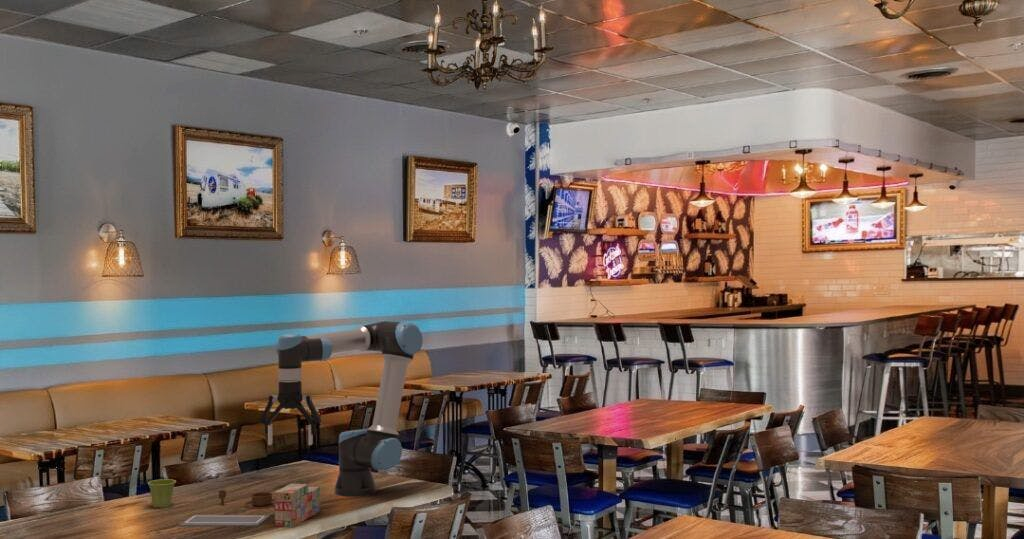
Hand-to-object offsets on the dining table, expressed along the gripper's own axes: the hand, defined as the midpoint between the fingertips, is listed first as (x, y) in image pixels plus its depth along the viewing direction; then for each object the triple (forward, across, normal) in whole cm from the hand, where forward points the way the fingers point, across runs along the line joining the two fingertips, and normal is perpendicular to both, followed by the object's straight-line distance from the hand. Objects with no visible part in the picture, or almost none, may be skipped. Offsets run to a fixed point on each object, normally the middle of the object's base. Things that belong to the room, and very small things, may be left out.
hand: (290, 444), depth 325 cm
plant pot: (+25, +52, -19) cm, 61 cm away
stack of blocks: (+26, -3, +1) cm, 26 cm away
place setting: (+26, +19, -21) cm, 38 cm away
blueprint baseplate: (+25, +21, +4) cm, 33 cm away
